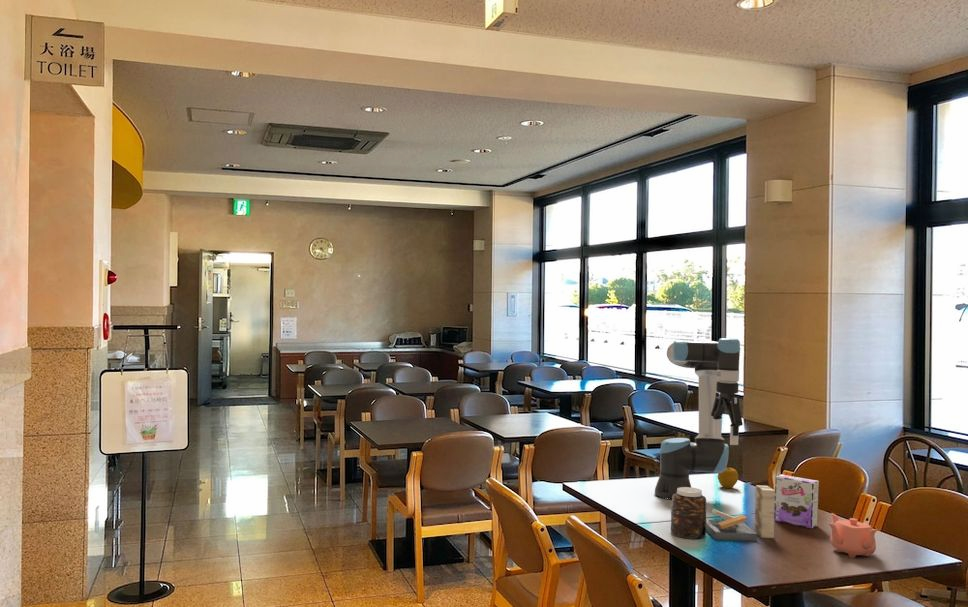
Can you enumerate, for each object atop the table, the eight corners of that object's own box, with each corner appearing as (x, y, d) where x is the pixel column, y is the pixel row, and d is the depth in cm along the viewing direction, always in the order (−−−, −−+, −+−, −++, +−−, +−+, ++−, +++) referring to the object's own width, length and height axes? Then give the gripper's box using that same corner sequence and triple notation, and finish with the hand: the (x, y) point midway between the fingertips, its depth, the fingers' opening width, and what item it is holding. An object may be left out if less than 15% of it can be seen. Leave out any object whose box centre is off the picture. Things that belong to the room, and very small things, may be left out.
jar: (712, 539, 255) (713, 494, 255) (678, 539, 253) (680, 494, 253) (696, 528, 267) (698, 485, 267) (664, 529, 265) (666, 485, 265)
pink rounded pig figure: (877, 563, 235) (878, 528, 235) (826, 555, 242) (827, 520, 242) (878, 551, 248) (879, 517, 248) (829, 543, 255) (830, 510, 255)
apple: (734, 491, 327) (735, 470, 327) (714, 488, 331) (715, 467, 331) (740, 487, 334) (740, 467, 334) (720, 484, 338) (721, 464, 338)
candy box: (773, 520, 281) (774, 475, 281) (779, 517, 285) (781, 473, 285) (811, 529, 272) (813, 482, 272) (817, 526, 276) (819, 480, 276)
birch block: (754, 531, 266) (755, 485, 266) (765, 531, 266) (767, 485, 266) (761, 537, 259) (763, 490, 259) (773, 538, 259) (775, 490, 259)
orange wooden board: (718, 526, 260) (717, 522, 260) (744, 518, 260) (742, 514, 260) (722, 529, 257) (721, 525, 257) (747, 520, 257) (746, 517, 257)
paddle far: (711, 511, 267) (712, 508, 267) (735, 521, 267) (736, 518, 267) (714, 514, 264) (716, 511, 264) (738, 524, 264) (740, 520, 264)
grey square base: (701, 526, 270) (702, 516, 270) (741, 528, 270) (741, 517, 270) (715, 539, 255) (715, 528, 255) (757, 540, 255) (757, 530, 255)
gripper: (703, 377, 286) (701, 434, 287) (733, 386, 262) (731, 448, 262) (722, 377, 287) (720, 434, 288) (754, 386, 263) (751, 448, 263)
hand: (725, 440), depth 275 cm, fingers open, 13 cm apart
